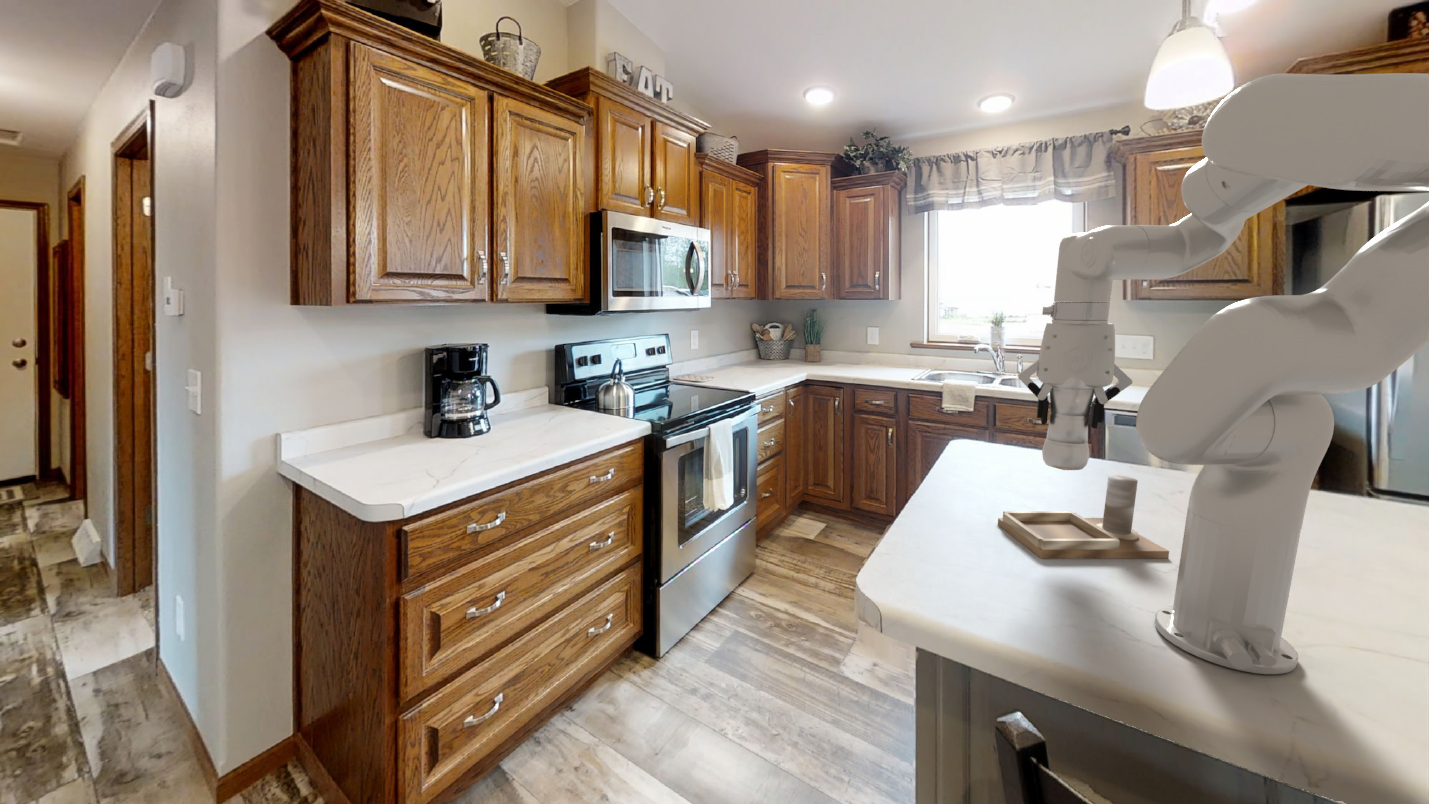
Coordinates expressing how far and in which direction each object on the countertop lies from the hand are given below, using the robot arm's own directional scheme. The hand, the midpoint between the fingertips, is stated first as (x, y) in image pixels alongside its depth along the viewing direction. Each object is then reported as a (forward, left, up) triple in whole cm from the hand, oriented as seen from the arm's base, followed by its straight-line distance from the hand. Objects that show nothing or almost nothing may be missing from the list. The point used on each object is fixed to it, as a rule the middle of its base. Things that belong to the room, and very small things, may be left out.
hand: (1068, 423), depth 93 cm
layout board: (+1, -3, -20) cm, 20 cm away
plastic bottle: (0, 0, -8) cm, 8 cm away
